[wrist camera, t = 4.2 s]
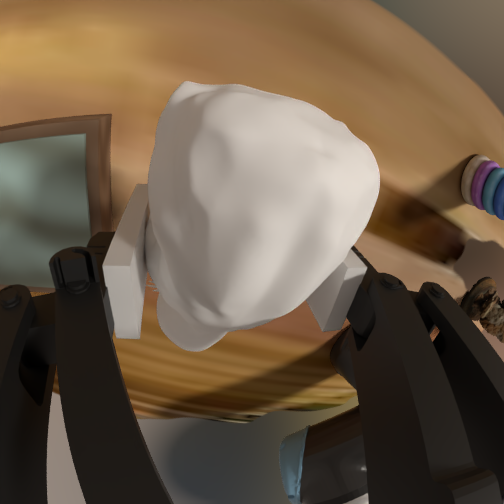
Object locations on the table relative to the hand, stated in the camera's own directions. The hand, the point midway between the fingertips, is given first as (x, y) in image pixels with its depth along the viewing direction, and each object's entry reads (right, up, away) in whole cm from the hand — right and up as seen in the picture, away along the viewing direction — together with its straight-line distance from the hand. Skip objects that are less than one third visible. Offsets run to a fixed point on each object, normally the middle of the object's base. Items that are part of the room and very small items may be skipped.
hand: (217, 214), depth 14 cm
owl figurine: (+54, -12, +38) cm, 67 cm away
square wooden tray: (-19, +3, +9) cm, 21 cm away
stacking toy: (+34, +9, +19) cm, 40 cm away
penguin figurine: (0, 0, 0) cm, 1 cm away
